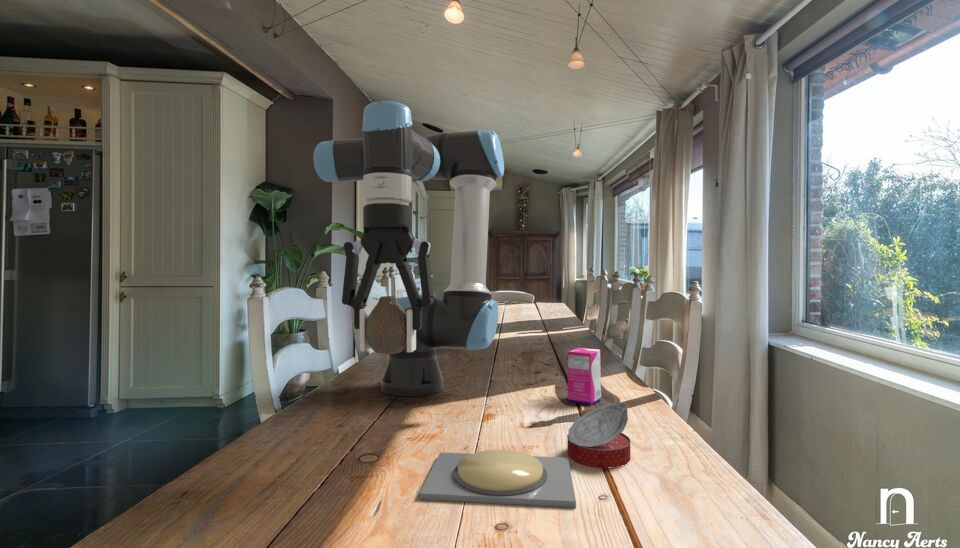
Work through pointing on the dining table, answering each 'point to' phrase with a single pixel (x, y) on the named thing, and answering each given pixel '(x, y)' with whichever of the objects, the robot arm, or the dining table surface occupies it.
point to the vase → (387, 326)
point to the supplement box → (584, 376)
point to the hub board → (500, 479)
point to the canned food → (600, 437)
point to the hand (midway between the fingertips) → (388, 350)
